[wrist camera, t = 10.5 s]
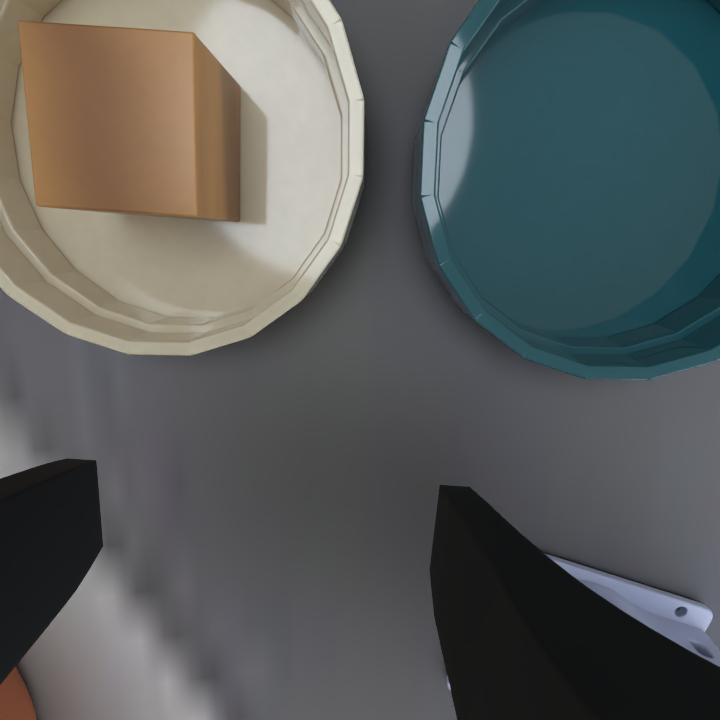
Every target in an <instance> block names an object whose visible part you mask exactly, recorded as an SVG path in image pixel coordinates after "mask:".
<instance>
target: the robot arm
mask: <svg viewBox="0 0 720 720" xmlns="http://www.w3.org/2000/svg"><path fill="white" fill-rule="evenodd" d="M102 547H103V540H102V528H101V515H100V502H99V490H98V477H97V465H96V461H95V460H80V459H63V460H59V461H54V462H51V463H47V464H44V465H40V466H37V467H34V468H31V469H28V470H25V471H22V472H19V473H16V474H13V475H10V476H7V477H4V478H2V479H0V685H1V684H2V682H3V681H4V680H5V679H6V677H7V676H8V675H9V674H10V672H11V671H12V670H13V669H14V668H15V666H16V665H17V664H18V663H19V661H20V660H21V659H22V658H23V656H24V655H25V654H26V653H27V651H28V650H29V649H30V648H31V646H32V645H33V644H34V643H35V642H36V640H37V639H38V638H39V637H40V635H41V634H42V633H43V632H44V630H45V629H46V628H47V627H48V625H49V624H50V623H51V622H52V620H53V619H54V618H55V617H56V615H57V614H58V613H59V612H60V610H61V609H62V608H63V607H64V605H65V604H66V603H67V601H68V600H69V599H70V598H71V596H72V595H73V594H74V592H75V591H76V590H77V588H78V586H79V585H80V583H81V582H82V580H83V579H84V577H85V575H86V574H87V572H88V571H89V569H90V567H91V566H92V564H93V562H94V561H95V559H96V557H97V555H98V554H99V552H100V550H101V549H102ZM430 577H431V588H432V598H433V607H434V616H435V621H436V626H437V630H438V635H439V639H440V644H441V649H442V653H443V658H444V662H445V666H446V671H447V677H446V681H447V686H448V688H449V690H450V691H451V693H452V698H453V702H454V706H455V711H456V715H457V720H720V650H719V648H718V647H717V646H716V645H715V644H714V642H713V641H712V640H711V639H710V638H709V636H708V635H707V634H706V633H705V630H706V629H707V627H708V625H709V624H710V622H711V621H712V618H713V614H712V612H711V611H710V609H709V608H708V607H707V606H706V605H704V604H703V603H700V602H697V601H693V600H690V599H687V598H684V597H681V596H678V595H674V594H671V593H668V592H665V591H662V590H659V589H656V588H652V587H649V586H646V585H643V584H640V583H637V582H633V581H630V580H627V579H624V578H621V577H618V576H615V575H611V574H608V573H605V572H602V571H599V570H596V569H592V568H589V567H586V566H583V565H580V564H577V563H574V562H570V561H567V560H564V559H561V558H558V557H555V556H551V555H548V554H545V553H543V552H542V551H540V550H539V549H538V548H537V547H536V546H534V545H533V544H532V543H531V542H530V541H529V540H527V539H526V538H525V537H524V536H523V535H522V534H521V533H519V532H518V531H517V530H516V529H515V528H514V527H513V526H512V525H511V524H509V523H508V522H507V521H506V520H505V519H504V518H503V517H502V516H501V515H500V514H499V513H498V512H496V511H495V510H494V509H493V508H492V507H491V506H490V505H489V504H488V503H487V502H486V501H485V500H484V499H483V498H481V497H480V496H479V495H478V494H477V493H476V492H475V491H474V490H472V489H471V488H470V487H462V486H447V485H440V489H439V497H438V505H437V514H436V522H435V530H434V539H433V547H432V555H431V564H430ZM678 607H680V608H679V609H677V608H678ZM676 609H677V610H676Z"/></svg>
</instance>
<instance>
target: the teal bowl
mask: <svg viewBox="0 0 720 720" xmlns="http://www.w3.org/2000/svg"><path fill="white" fill-rule="evenodd" d="M412 203H413V204H412V207H413V211H414V214H415V218H416V222H417V225H418V229H419V233H420V237H421V240H422V244H423V248H424V251H425V255H426V259H427V260H428V263H429V264H430V266H431V267H432V269H433V270H434V272H435V273H436V275H437V276H438V278H439V279H440V281H441V282H442V284H443V285H444V287H445V288H446V290H447V291H448V293H449V295H450V296H451V298H452V299H453V301H454V302H455V304H456V305H457V306H458V307H459V308H460V309H461V310H462V311H463V312H465V313H466V314H467V315H468V316H470V317H471V318H472V319H473V320H474V321H476V322H477V323H478V324H480V325H481V326H482V327H483V328H485V329H486V330H487V331H489V332H490V333H491V334H492V335H494V336H495V337H496V338H498V339H499V340H500V341H502V342H503V343H504V344H505V345H507V346H508V347H509V348H511V349H512V350H513V351H514V352H516V353H517V354H518V355H520V356H521V357H522V358H524V359H526V360H529V361H532V362H535V363H538V364H541V365H544V366H547V367H550V368H553V369H556V370H559V371H561V372H564V373H567V374H570V375H573V376H576V377H579V378H584V379H614V380H650V379H654V378H658V377H661V376H665V375H669V374H672V373H676V372H679V371H683V370H687V369H690V368H694V367H698V366H701V365H705V364H709V363H712V362H714V361H717V360H719V359H720V0H479V1H478V2H477V4H476V5H475V7H474V8H473V10H472V11H471V13H470V14H469V15H468V17H467V18H466V20H465V21H464V23H463V24H462V25H461V27H460V28H459V30H458V31H457V33H456V34H455V35H454V37H453V38H452V40H451V42H450V44H449V45H448V48H447V50H446V53H445V55H444V58H443V60H442V63H441V65H440V68H439V70H438V73H437V75H436V77H435V80H434V83H433V86H432V89H431V92H430V95H429V98H428V101H427V104H426V107H425V110H424V113H423V115H422V118H421V121H420V124H419V127H418V130H417V133H416V136H415V141H414V154H413V180H412Z"/></svg>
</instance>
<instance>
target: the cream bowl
mask: <svg viewBox="0 0 720 720" xmlns="http://www.w3.org/2000/svg"><path fill="white" fill-rule="evenodd" d="M18 21H33V22H48V23H63V24H78V25H93V26H109V27H124V28H139V29H154V30H169V31H184V32H193V33H195V34H196V36H197V37H198V38H199V39H200V40H201V41H202V42H203V44H204V45H205V46H206V47H207V48H208V49H209V51H210V52H211V53H212V54H213V55H214V56H215V57H216V59H217V60H218V61H219V62H220V63H221V64H222V65H223V67H224V68H225V69H226V70H227V71H228V72H229V74H230V75H231V76H232V77H233V78H234V79H235V80H236V82H237V83H238V84H239V85H240V87H241V109H240V221H239V222H232V221H217V220H202V219H188V218H173V217H158V216H144V215H129V214H115V213H104V212H93V211H81V210H70V209H59V208H47V207H39V206H37V205H36V202H35V192H34V182H33V171H32V161H31V151H30V141H29V131H28V121H27V111H26V101H25V91H24V81H23V71H22V61H21V51H20V41H19V31H18ZM365 135H366V122H365V102H364V96H363V92H362V89H361V85H360V82H359V78H358V74H357V71H356V67H355V64H354V60H353V56H352V53H351V49H350V46H349V42H348V39H347V35H346V31H345V28H344V24H343V21H342V20H341V17H340V15H339V14H338V12H337V11H336V9H335V7H334V6H333V4H332V3H331V1H330V0H0V287H1V289H2V290H3V291H4V292H5V293H6V294H7V295H8V296H9V297H11V298H12V299H14V300H15V301H17V302H18V303H20V304H21V305H23V306H24V307H26V308H27V309H29V310H30V311H32V312H33V313H35V314H36V315H38V316H39V317H41V318H42V319H44V320H45V321H47V322H48V323H50V324H51V325H53V326H54V327H55V328H57V329H58V330H60V331H61V332H63V333H66V334H67V335H70V336H73V337H76V338H79V339H82V340H85V341H88V342H91V343H94V344H98V345H101V346H104V347H107V348H110V349H113V350H116V351H119V352H122V353H125V354H130V355H184V356H190V355H195V354H198V353H202V352H205V351H208V350H211V349H215V348H218V347H221V346H225V345H228V344H231V343H234V342H238V341H241V340H244V339H247V338H250V337H252V336H254V335H255V334H256V333H258V332H259V331H261V330H262V329H263V328H265V327H266V326H267V325H269V324H270V323H272V322H273V321H274V320H276V319H277V318H279V317H280V316H281V315H283V314H284V313H286V312H287V311H288V310H290V309H291V308H292V307H294V306H295V305H297V304H298V303H299V302H301V301H302V300H303V299H304V298H305V297H306V296H307V295H308V294H309V293H310V292H311V291H312V290H314V288H315V287H316V286H317V284H318V283H319V282H320V280H321V279H322V277H323V276H324V275H325V273H326V272H327V270H328V269H329V268H330V266H331V265H332V263H333V262H334V261H335V259H336V258H337V256H338V255H339V254H340V252H341V251H342V250H343V248H344V247H345V245H346V243H347V240H348V237H349V234H350V231H351V228H352V225H353V222H354V219H355V216H356V212H357V209H358V206H359V203H360V200H361V197H362V194H363V191H364V186H365Z"/></svg>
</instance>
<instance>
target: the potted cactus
mask: <svg viewBox="0 0 720 720" xmlns="http://www.w3.org/2000/svg"><path fill="white" fill-rule="evenodd" d="M0 720H37V718H36V713H35V709H34V706H33V703H32V700H31V697H30V695H29V692H28V690H27V688H26V685H25V683H24V681H23V679H22V677H21V675H20V674H19V672H18V670H17V668H16V667H15V668H14V669H13V670H12V671H11V672H10V674H9V675H8V676H7V677H6V679H5V680H4V681H3V682H2V684H1V685H0Z"/></svg>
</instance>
